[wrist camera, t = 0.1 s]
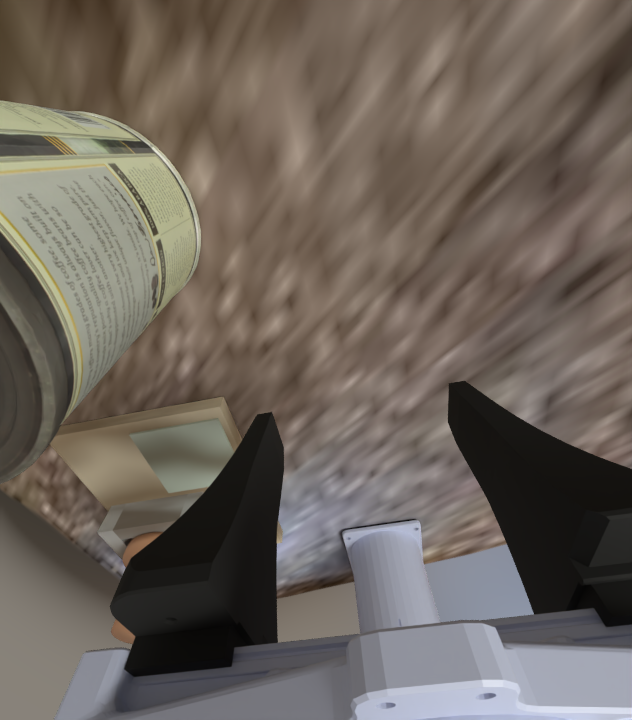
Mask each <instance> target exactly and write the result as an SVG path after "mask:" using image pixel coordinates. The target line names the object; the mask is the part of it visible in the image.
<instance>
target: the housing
mask: <svg viewBox="0 0 632 720" xmlns="http://www.w3.org/2000/svg"><path fill="white" fill-rule="evenodd" d="M241 441H242V438H241V435H240V433H239V431H238V429H237V426H236V424H235V422H234V420H233V417H232V415H231V413H230V411H229V408H228V406H227V404H226V401H225V399H224V397H218V398H212V399H207V400H201V401H196V402H190V403H185V404H179V405H174V406H168V407H163V408H157V409H152V410H146V411H141V412H135V413H130V414H124V415H119V416H113V417H108V418H102V419H97V420H91V421H86V422H80V423H75V424H69V425H64V426H60V428H59V430H58V432H57V434H56V436H55V437H54V439H53V440H52V442H51V443H50V445H51V446H52V447H53V449H54V450H55V451H56V452H57V453H58V454H59V455H60V457H61V458H62V459H63V460H64V461H65V462H66V464H67V465H68V466H69V467H70V468H71V469H72V470H73V472H74V473H75V474H76V475H77V476H78V477H79V479H80V480H81V481H82V482H83V483H84V484H85V485H86V487H87V488H88V489H89V490H90V491H91V492H92V494H93V495H94V496H95V497H96V498H97V499H98V500H99V502H100V503H101V504H102V505H103V506H104V507H105V509H106V510H107V511H108V513H107V515H106V517H105V519H104V521H103V522H102V524H101V526H100V528H99V530H98V532H97V533H98V535H99V536H100V537H101V538H102V539H103V540H104V541H105V542H106V543H107V544H108V545H109V546H110V547H111V548H112V549H113V550H114V551H115V552H116V554H117V555H118V556H119V557H120V558H121V559H122V560H123V555H124V552H125V550H126V548H127V546H128V544H129V542H130V541H131V540H132V539H134V538H135V537H137V536H139V535H142V534H146V533H152V532H164V531H165V530H166V529H167V528H169V527H170V526H171V525H172V524H173V523H174V522H175V521H176V520H177V519H178V518H180V517H181V516H182V515H183V514H184V513H185V512H186V511H187V510H188V509H189V508H190V507H191V506H192V505H193V504H194V503H195V501H196V500H197V499H198V498H199V497H200V496H201V495H202V494H203V493H204V492H205V491H206V490H207V488H208V487H209V486H210V485H211V484H212V482H213V481H214V480H215V479H216V477H217V476H218V475H219V473H220V472H221V471H222V469H223V468H224V467H225V465H226V464H227V462H228V461H229V460H230V458H231V457H232V455H233V454H234V452H235V451H236V449H237V447H238V446H239V444H240V443H241ZM282 534H283V531H282V529H281V526H280V524H279V522H278V526H277V543H282Z"/></svg>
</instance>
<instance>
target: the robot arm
mask: <svg viewBox="0 0 632 720" xmlns="http://www.w3.org/2000/svg"><path fill="white" fill-rule="evenodd" d="M448 423H449V426H450V428H451V431H452V434H453V436H454V438H455V441H456V443H457V445H458V447H459V449H460V451H461V453H462V454H463V456H464V458H465V460H466V462H467V463H468V465H469V467H470V469H471V470H472V472H473V474H474V476H475V478H476V479H477V481H478V483H479V485H480V486H481V488H482V490H483V492H484V494H485V495H486V497H487V499H488V501H489V503H490V505H491V508H492V510H493V512H494V515H495V517H496V519H497V521H498V524H499V526H500V528H501V531H502V533H503V535H504V538H505V540H506V543H507V545H508V547H509V550H510V552H511V554H512V557H513V560H514V562H515V565H516V567H517V570H518V573H519V575H520V577H521V580H522V583H523V585H524V588H525V591H526V593H527V596H528V598H529V602H530V604H531V607H532V610H533V612H534V615H527V616H517V617H509V618H499V619H490V620H481V621H479V620H459V621H450V622H441V623H440V619H439V616H438V612H437V609H436V605H435V602H434V598H433V595H432V591H431V588H430V584H429V581H428V577H427V574H426V570H425V567H424V563H423V553H422V538H421V525H420V522H419V521H418V520H412V521H405V522H398V523H391V524H384V525H377V526H370V527H363V528H356V529H349V530H345V531H343V532H342V535H343V540H344V543H345V547H346V550H347V554H348V557H349V561H350V564H351V568H352V571H353V575H354V582H355V591H356V599H357V608H358V617H359V625H360V634H354V635H345V636H335V637H326V638H318V639H308V640H299V641H290V642H281V643H278V639H277V592H276V557H277V526H278V516H279V507H280V499H281V490H282V482H283V473H284V447H283V444H282V441H281V438H280V435H279V432H278V429H277V426H276V423H275V420H274V417H273V414H272V412H269V413H263V414H258V415H257V416H256V417H255V419H254V421H253V423H252V424H251V426H250V428H249V429H248V431H247V433H246V435H245V436H244V438H243V440H242V441H241V443H240V444H239V446H238V447H237V449H236V451H235V452H234V454H233V455H232V457H231V458H230V460H229V461H228V462H227V464H226V465H225V467H224V468H223V469H222V471H221V472H220V473H219V475H218V476H217V477H216V479H215V480H214V481H213V482H212V484H211V485H210V486H209V487H208V488H207V490H206V491H205V492H204V493H203V494H202V495H201V496H200V497H199V498H198V499H197V500H196V501H195V503H194V504H193V505H192V506H191V507H190V508H189V509H188V510H187V511H186V512H185V513H184V514H183V515H182V516H181V517H180V518H178V519H177V520H176V521H175V522H174V523H173V524H172V525H171V526H170V527H169V528H167V529H166V530H165V531H164V532H163V533H162V534H161V535H159V536H158V537H157V538H156V539H154V540H153V541H152V542H151V543H149V544H148V545H147V546H146V547H144V548H143V549H142V550H141V551H139V552H138V553H137V554H135V555H134V556H133V557H131V559H130V561H129V563H128V565H127V567H126V569H125V571H124V573H123V576H122V578H121V581H120V583H119V586H118V588H117V590H116V593H115V595H114V597H113V600H112V602H111V605H110V609H111V612H112V614H113V616H114V617H115V618H116V620H117V621H119V622H120V623H121V624H122V625H123V626H124V627H125V628H126V629H128V630H129V631H130V632H131V633H132V634H133V635H134V636H135V639H134V642H133V645H132V648H131V650H130V649H127V648H109V649H101V650H91V651H86V652H85V653H83V655H82V657H81V659H80V662H79V664H78V666H77V668H76V670H75V673H74V675H73V677H72V680H71V682H70V684H69V687H68V689H67V691H66V693H65V696H64V698H63V700H62V702H61V704H60V707H59V709H58V711H57V713H56V716H55V718H54V720H632V469H630V468H627V467H624V466H622V465H619V464H616V463H613V462H610V461H608V460H605V459H603V458H600V457H597V456H595V455H593V454H590V453H588V452H585V451H583V450H581V449H578V448H576V447H574V446H572V445H569V444H567V443H565V442H563V441H561V440H559V439H557V438H555V437H553V436H551V435H549V434H547V433H545V432H543V431H541V430H539V429H537V428H536V427H534V426H532V425H530V424H529V423H527V422H525V421H524V420H522V419H520V418H518V417H517V416H515V415H514V414H512V413H510V412H509V411H507V410H506V409H504V408H503V407H501V406H500V405H498V404H497V403H495V402H494V401H492V400H491V399H490V398H488V397H487V396H485V395H484V394H482V393H481V392H480V391H478V390H477V389H475V388H474V387H473V386H471V385H470V384H468V383H467V382H466V381H461V382H455V383H449V401H448Z"/></svg>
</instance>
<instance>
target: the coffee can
mask: <svg viewBox="0 0 632 720" xmlns="http://www.w3.org/2000/svg"><path fill="white" fill-rule="evenodd" d="M200 248H201V229H200V223H199V218H198V214H197V210H196V207H195V205H194V202H193V199H192V196H191V193H190V191H189V189H188V187H187V186H186V185H185V183H184V181H183V179H182V178H181V176H180V174H179V173H178V171H177V170H176V169H175V167H174V166H173V165H172V163H171V162H170V161H169V160H168V159H167V157H166V156H165V155H164V154H163V153H162V152H161V151H160V150H159V149H158V148H157V147H156V146H155V145H154V144H152V143H151V142H150V141H149V140H147V139H146V138H145V137H144V136H142V135H141V134H139V133H138V132H136V131H135V130H133V129H131V128H130V127H129V126H127V125H124V124H122V123H120V122H118V121H116V120H113V119H110V118H108V117H105V116H101V115H98V114H94V113H87V112H80V111H70V112H69V111H63V110H57V109H51V108H45V107H39V106H33V105H27V104H20V103H14V102H7V101H1V100H0V484H1V483H4V482H6V481H8V480H11V479H12V478H14V477H16V476H17V475H19V474H20V473H22V472H23V471H25V470H26V469H27V468H28V467H30V466H31V465H32V464H33V463H34V462H35V461H36V460H37V459H38V458H39V457H40V455H41V454H42V453H43V452H44V451H45V449H46V448H47V447H48V445H49V444H50V443H51V442H52V440H53V439H54V437H55V436H56V434H57V432H58V430H59V428H60V425H61V424H62V423H63V422H64V421H65V420H66V418H67V417H68V416H69V415H70V414H71V413H72V412H73V410H74V409H75V408H76V407H77V406H78V405H79V404H80V402H81V401H82V400H83V399H84V398H85V397H86V396H87V394H88V393H89V392H90V391H91V390H92V389H93V388H94V387H95V385H96V384H97V383H98V382H99V381H100V380H101V379H102V378H103V376H104V375H105V374H106V373H107V372H108V371H109V370H110V368H111V367H112V366H113V365H114V364H115V363H116V362H117V360H118V359H119V358H120V357H121V356H122V355H123V354H124V352H125V351H126V350H127V349H128V348H129V347H130V346H131V344H132V343H133V342H134V341H135V340H136V339H137V338H138V336H139V335H140V334H141V333H142V332H143V331H144V330H145V329H146V328H147V326H148V325H149V324H150V323H151V322H152V321H153V320H154V318H155V317H156V316H157V315H158V314H159V313H160V311H161V310H162V309H163V308H164V307H165V306H166V304H167V303H168V302H169V301H170V300H171V299H172V298H173V297H174V296H175V295H176V294H177V293H178V292H179V291H180V290H181V289H182V288H183V287H184V286H185V285H186V284H187V283H188V281H189V280H190V278H191V277H192V275H193V273H194V271H195V269H196V267H197V264H198V260H199V254H200Z"/></svg>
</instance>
